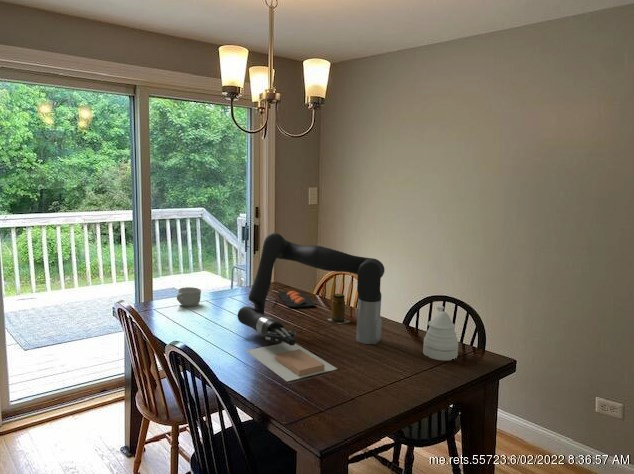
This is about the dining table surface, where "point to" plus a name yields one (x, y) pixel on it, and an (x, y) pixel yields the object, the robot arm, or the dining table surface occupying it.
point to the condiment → (338, 309)
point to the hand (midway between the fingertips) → (293, 342)
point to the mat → (268, 359)
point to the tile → (299, 362)
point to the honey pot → (441, 338)
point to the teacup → (189, 296)
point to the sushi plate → (294, 299)
